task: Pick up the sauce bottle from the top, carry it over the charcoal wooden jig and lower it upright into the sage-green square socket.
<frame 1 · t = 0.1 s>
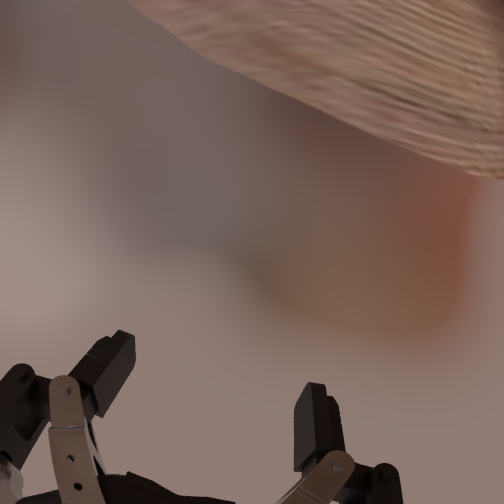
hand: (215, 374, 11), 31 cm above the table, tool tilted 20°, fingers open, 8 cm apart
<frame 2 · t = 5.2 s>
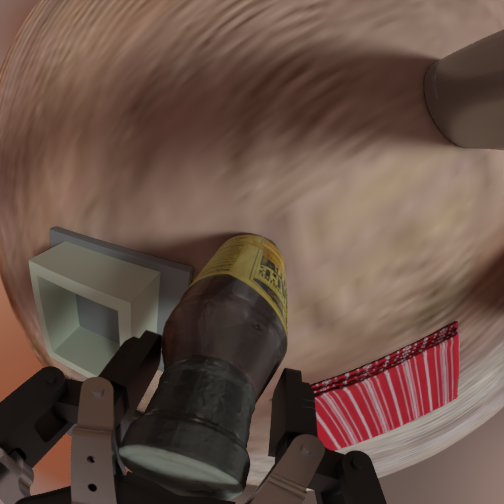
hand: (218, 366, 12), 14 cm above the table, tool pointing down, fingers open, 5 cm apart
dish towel: (382, 396, 30), on the table
bottle jig: (113, 301, 28), on the table
sauce bottle: (250, 260, 24), on the table, touching gripper
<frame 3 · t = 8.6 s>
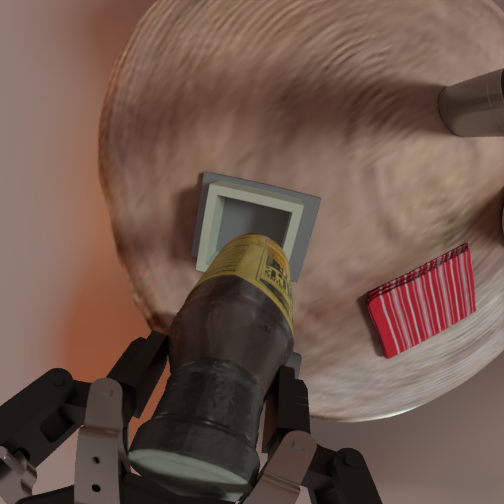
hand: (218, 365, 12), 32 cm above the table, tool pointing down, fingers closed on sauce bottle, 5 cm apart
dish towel: (425, 301, 44), on the table
bottle jig: (253, 226, 43), on the table
sauce bottle: (254, 260, 24), point 19 cm above the table, touching gripper
when the fingers open (16 cm above the table, at t = 11.9 s): sauce bottle drops 1 cm, resting on bottle jig.
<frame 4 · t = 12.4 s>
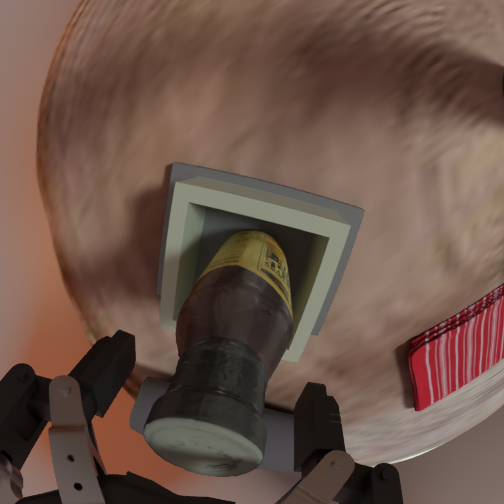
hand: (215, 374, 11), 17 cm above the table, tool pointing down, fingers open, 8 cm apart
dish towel: (470, 342, 29), on the table
bottle jig: (252, 252, 27), on the table
sauce bottle: (253, 255, 26), point 1 cm above the table, touching bottle jig
bluetooth speaker: (229, 401, 35), on the table
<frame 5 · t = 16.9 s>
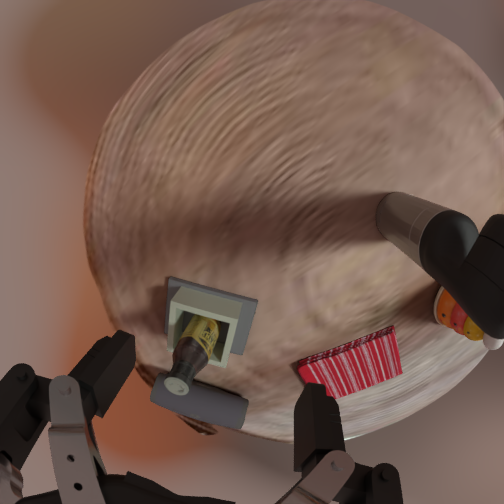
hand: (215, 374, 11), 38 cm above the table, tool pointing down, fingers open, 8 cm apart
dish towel: (352, 366, 57), on the table
bottle jig: (208, 316, 55), on the table
sauce bottle: (207, 319, 54), point 1 cm above the table, touching bottle jig
bluetooth speaker: (204, 387, 63), on the table
stacking toy: (454, 295, 48), on the table
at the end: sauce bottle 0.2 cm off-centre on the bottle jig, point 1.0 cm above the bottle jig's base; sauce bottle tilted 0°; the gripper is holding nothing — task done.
